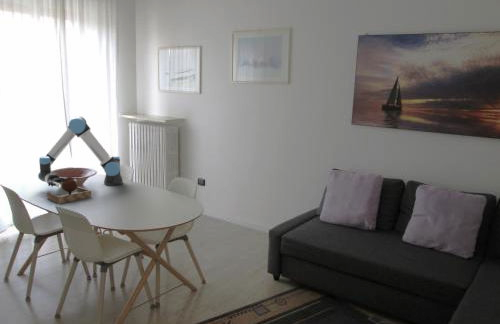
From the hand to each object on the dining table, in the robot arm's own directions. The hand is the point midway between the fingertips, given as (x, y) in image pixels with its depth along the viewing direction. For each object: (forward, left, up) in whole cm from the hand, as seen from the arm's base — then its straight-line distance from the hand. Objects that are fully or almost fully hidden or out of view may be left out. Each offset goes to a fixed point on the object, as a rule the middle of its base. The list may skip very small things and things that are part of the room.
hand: (67, 183), depth 298 cm
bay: (0, +1, -11) cm, 11 cm away
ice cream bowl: (0, +2, -10) cm, 10 cm away
